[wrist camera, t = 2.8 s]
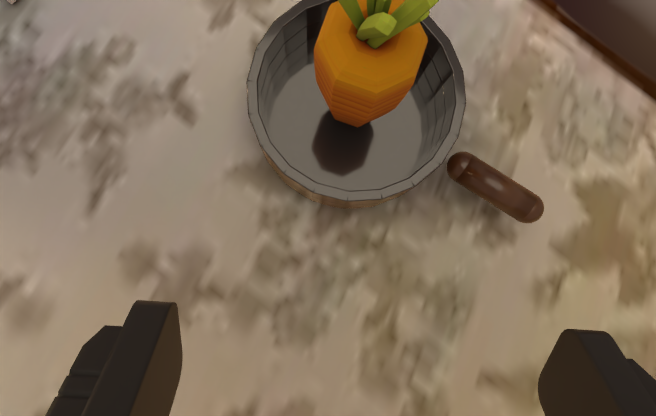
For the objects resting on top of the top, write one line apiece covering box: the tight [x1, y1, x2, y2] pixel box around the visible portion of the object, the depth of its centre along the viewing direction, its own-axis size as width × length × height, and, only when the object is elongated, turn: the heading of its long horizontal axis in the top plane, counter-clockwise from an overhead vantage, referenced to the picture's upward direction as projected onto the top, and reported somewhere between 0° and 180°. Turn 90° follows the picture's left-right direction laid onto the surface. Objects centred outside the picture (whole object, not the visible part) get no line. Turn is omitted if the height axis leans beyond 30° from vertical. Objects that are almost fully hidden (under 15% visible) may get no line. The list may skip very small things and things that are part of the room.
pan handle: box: [447, 152, 544, 223], centre depth 28 cm, size 6×2×2 cm, turn 58°
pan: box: [247, 0, 466, 209], centre depth 29 cm, size 12×12×4 cm
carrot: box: [314, 0, 439, 128], centre depth 23 cm, size 5×5×15 cm
